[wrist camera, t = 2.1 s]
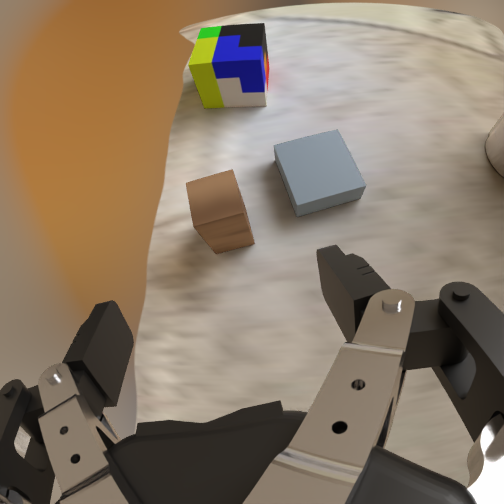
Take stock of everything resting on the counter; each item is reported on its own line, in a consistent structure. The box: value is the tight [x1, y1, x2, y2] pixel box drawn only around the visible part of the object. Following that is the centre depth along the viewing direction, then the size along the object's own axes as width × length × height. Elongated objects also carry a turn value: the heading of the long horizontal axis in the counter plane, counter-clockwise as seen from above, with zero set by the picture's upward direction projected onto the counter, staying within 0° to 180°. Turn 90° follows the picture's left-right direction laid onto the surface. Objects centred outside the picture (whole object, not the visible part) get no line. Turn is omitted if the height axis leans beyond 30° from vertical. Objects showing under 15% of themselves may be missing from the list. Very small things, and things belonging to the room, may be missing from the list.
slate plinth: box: [274, 129, 366, 217], centre depth 39 cm, size 9×9×4 cm
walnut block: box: [186, 169, 255, 254], centre depth 35 cm, size 5×5×10 cm
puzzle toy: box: [188, 23, 269, 109], centre depth 42 cm, size 10×10×10 cm
